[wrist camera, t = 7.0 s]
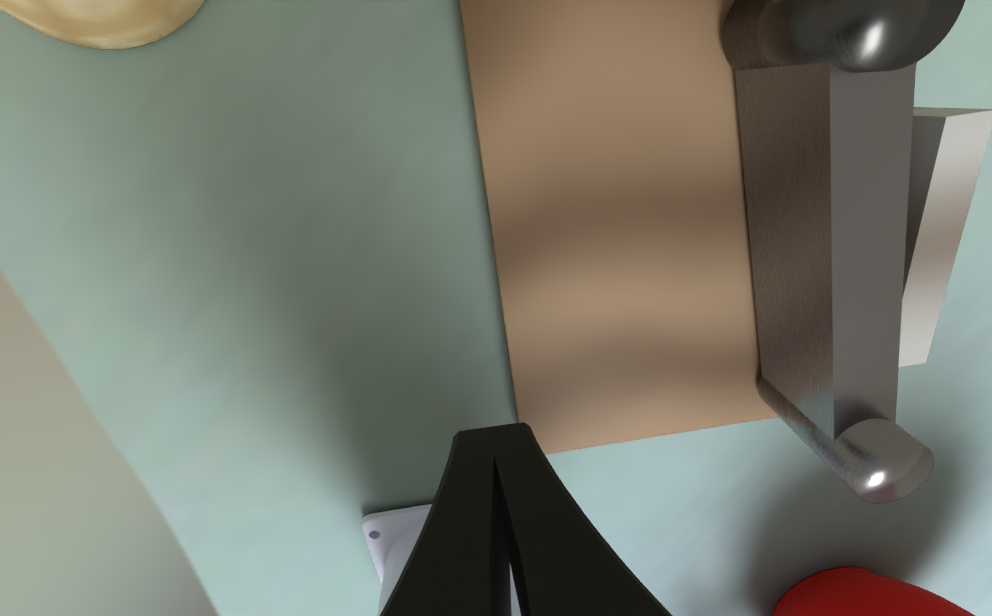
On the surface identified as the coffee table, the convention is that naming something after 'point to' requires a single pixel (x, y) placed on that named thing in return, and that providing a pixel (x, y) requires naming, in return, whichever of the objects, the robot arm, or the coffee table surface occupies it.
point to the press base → (652, 215)
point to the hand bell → (103, 19)
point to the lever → (833, 217)
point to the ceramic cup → (862, 597)
